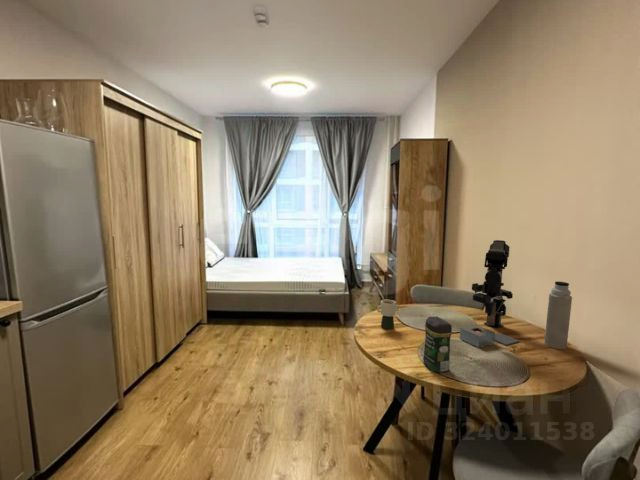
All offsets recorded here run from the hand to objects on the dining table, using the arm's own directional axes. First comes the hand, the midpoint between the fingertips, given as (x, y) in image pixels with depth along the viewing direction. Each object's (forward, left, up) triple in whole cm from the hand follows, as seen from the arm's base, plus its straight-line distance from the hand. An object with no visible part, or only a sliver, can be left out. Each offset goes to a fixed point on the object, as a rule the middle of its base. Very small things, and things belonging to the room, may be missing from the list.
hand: (491, 315), depth 145 cm
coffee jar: (+36, +6, -13) cm, 39 cm away
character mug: (+29, -33, -13) cm, 46 cm away
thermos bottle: (-26, +13, -13) cm, 31 cm away
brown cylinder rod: (0, 0, -4) cm, 4 cm away
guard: (+2, -4, -13) cm, 14 cm away
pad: (-10, 0, -13) cm, 16 cm away
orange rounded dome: (+2, -4, -11) cm, 12 cm away
